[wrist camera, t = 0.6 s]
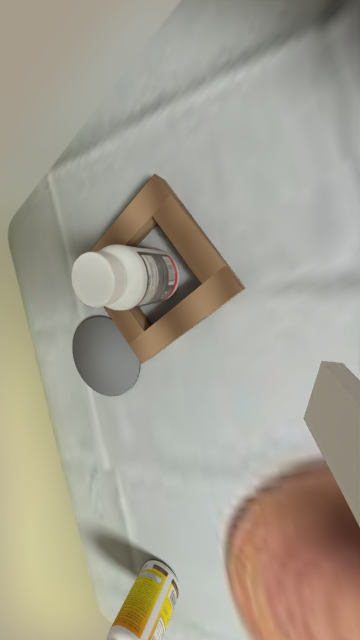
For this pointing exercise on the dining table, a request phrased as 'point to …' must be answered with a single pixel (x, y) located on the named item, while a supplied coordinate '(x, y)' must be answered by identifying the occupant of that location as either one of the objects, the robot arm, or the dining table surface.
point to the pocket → (195, 249)
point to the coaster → (105, 357)
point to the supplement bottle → (147, 605)
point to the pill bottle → (124, 277)
